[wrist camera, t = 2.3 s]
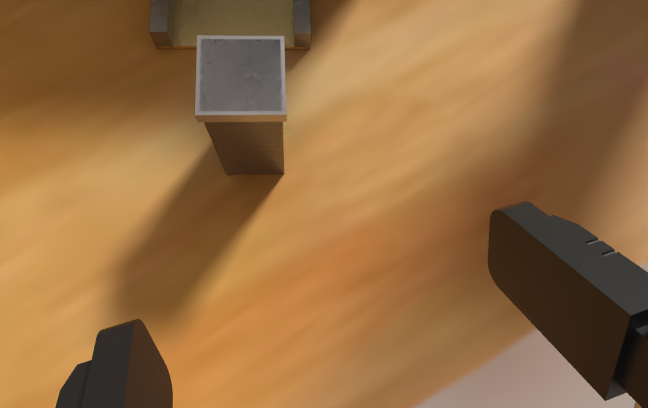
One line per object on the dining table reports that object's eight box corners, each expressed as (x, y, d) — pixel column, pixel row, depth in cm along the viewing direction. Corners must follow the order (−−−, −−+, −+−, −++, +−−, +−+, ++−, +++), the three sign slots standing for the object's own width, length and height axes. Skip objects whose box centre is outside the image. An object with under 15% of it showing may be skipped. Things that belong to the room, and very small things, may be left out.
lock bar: (285, 119, 33) (284, 35, 23) (286, 176, 31) (286, 114, 22) (224, 119, 32) (197, 35, 22) (224, 177, 31) (195, 115, 21)
